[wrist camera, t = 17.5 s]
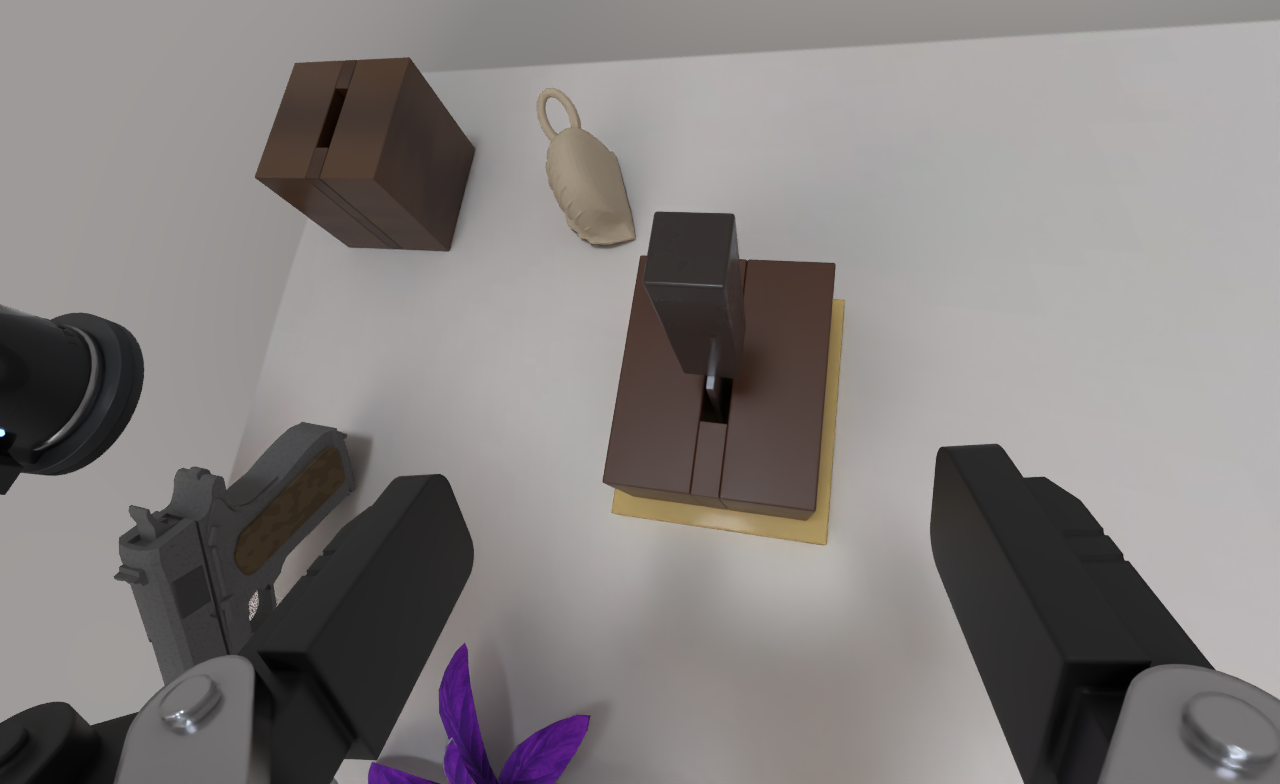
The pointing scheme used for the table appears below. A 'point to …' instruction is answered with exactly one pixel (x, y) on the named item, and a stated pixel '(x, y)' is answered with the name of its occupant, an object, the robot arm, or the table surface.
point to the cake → (735, 414)
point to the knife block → (368, 154)
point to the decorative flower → (525, 770)
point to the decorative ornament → (585, 179)
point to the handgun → (228, 545)
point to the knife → (699, 296)
